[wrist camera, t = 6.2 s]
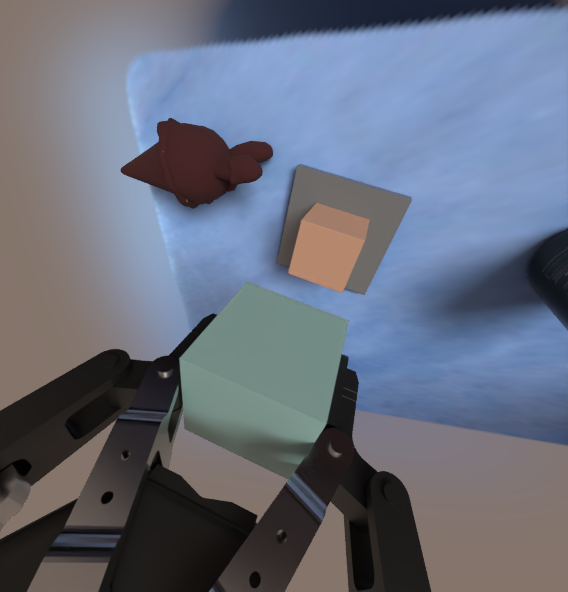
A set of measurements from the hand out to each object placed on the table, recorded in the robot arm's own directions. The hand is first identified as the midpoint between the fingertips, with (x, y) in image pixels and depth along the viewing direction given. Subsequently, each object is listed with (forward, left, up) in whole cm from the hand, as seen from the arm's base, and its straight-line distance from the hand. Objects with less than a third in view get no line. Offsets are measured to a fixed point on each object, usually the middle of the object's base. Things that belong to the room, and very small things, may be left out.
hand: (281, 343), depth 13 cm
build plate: (0, 0, -16) cm, 16 cm away
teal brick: (0, 0, 0) cm, 0 cm away
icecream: (+14, -3, -16) cm, 22 cm away
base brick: (0, 0, -15) cm, 15 cm away
